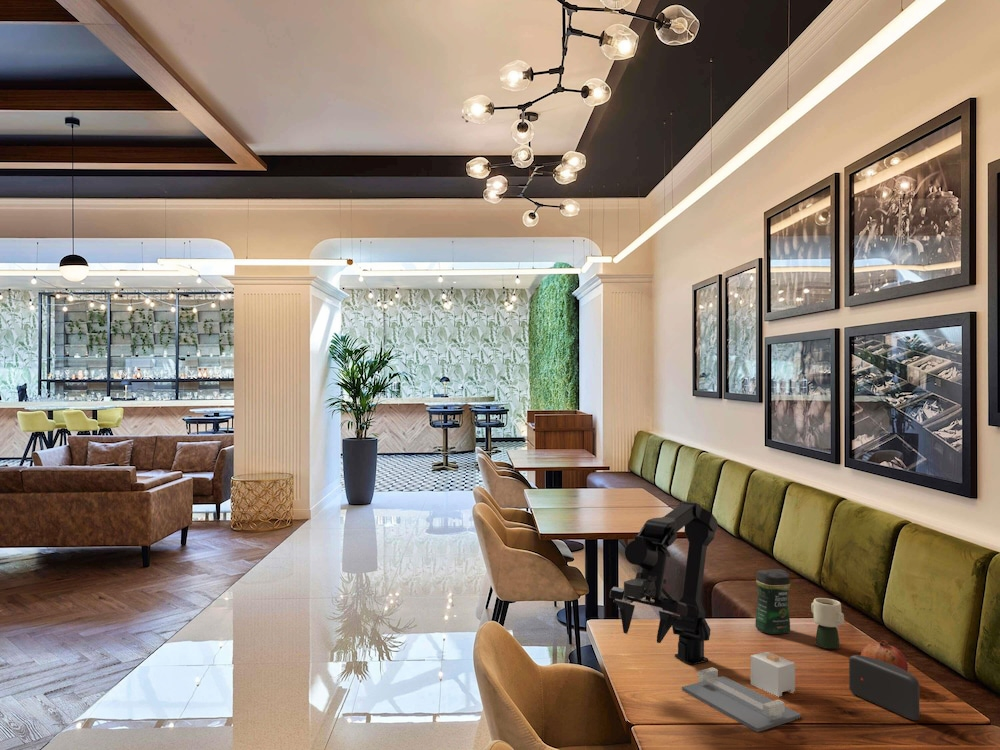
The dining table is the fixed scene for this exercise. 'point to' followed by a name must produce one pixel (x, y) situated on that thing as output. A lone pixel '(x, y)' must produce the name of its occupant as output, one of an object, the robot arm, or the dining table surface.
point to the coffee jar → (773, 601)
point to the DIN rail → (741, 696)
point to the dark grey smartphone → (884, 685)
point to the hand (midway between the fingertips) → (641, 638)
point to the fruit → (885, 654)
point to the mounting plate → (738, 705)
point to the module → (772, 673)
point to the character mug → (827, 621)
